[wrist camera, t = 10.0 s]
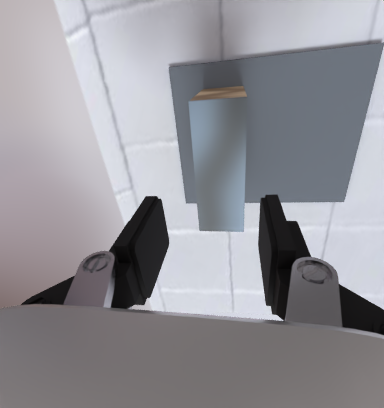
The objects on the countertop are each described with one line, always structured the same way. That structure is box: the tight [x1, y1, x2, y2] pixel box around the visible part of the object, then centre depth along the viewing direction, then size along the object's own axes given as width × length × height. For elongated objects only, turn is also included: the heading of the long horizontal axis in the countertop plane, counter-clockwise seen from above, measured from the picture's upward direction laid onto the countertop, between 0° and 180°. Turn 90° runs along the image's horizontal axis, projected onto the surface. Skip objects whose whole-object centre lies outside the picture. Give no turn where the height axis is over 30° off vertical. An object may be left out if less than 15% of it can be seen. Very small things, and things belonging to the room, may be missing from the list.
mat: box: [169, 43, 384, 203], centre depth 23 cm, size 17×14×1 cm
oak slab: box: [188, 86, 247, 232], centre depth 20 cm, size 4×10×8 cm, turn 5°
